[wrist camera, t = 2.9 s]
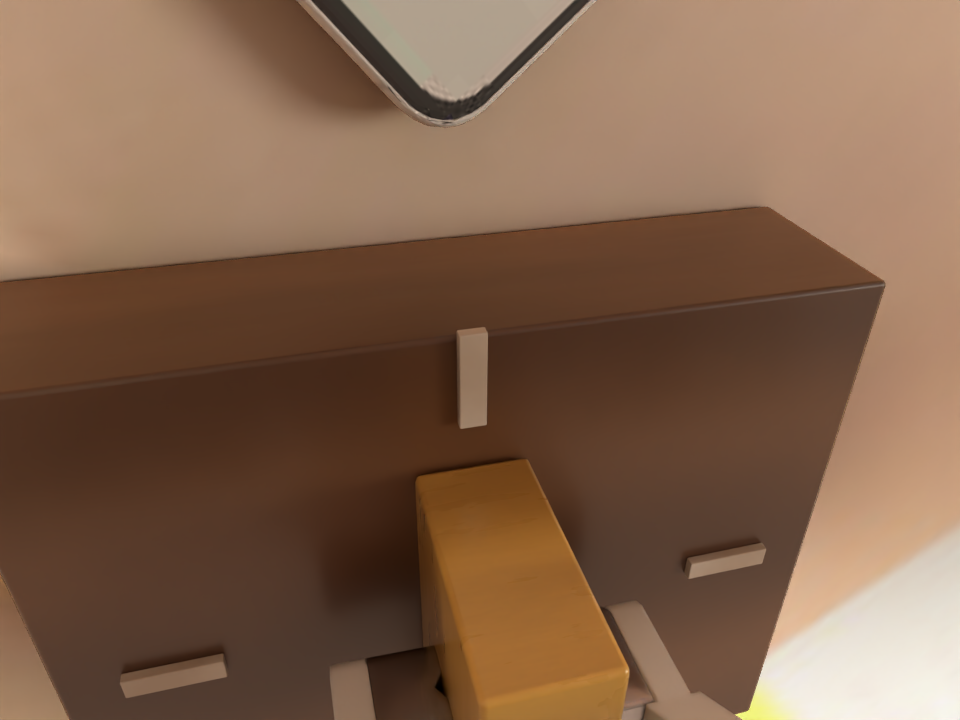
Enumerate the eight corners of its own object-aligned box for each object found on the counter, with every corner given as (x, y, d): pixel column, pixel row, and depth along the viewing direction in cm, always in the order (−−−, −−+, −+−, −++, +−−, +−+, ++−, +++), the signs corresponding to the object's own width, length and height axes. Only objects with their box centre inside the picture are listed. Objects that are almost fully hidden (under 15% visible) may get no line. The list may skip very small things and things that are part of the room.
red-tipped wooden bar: (413, 473, 10) (486, 729, 7) (527, 454, 11) (644, 691, 8) (426, 735, 13) (481, 988, 10) (514, 714, 14) (592, 954, 11)
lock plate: (-11, 274, 10) (-92, 406, 8) (769, 199, 13) (899, 280, 10) (154, 718, 16) (138, 882, 13) (682, 603, 19) (753, 721, 16)
